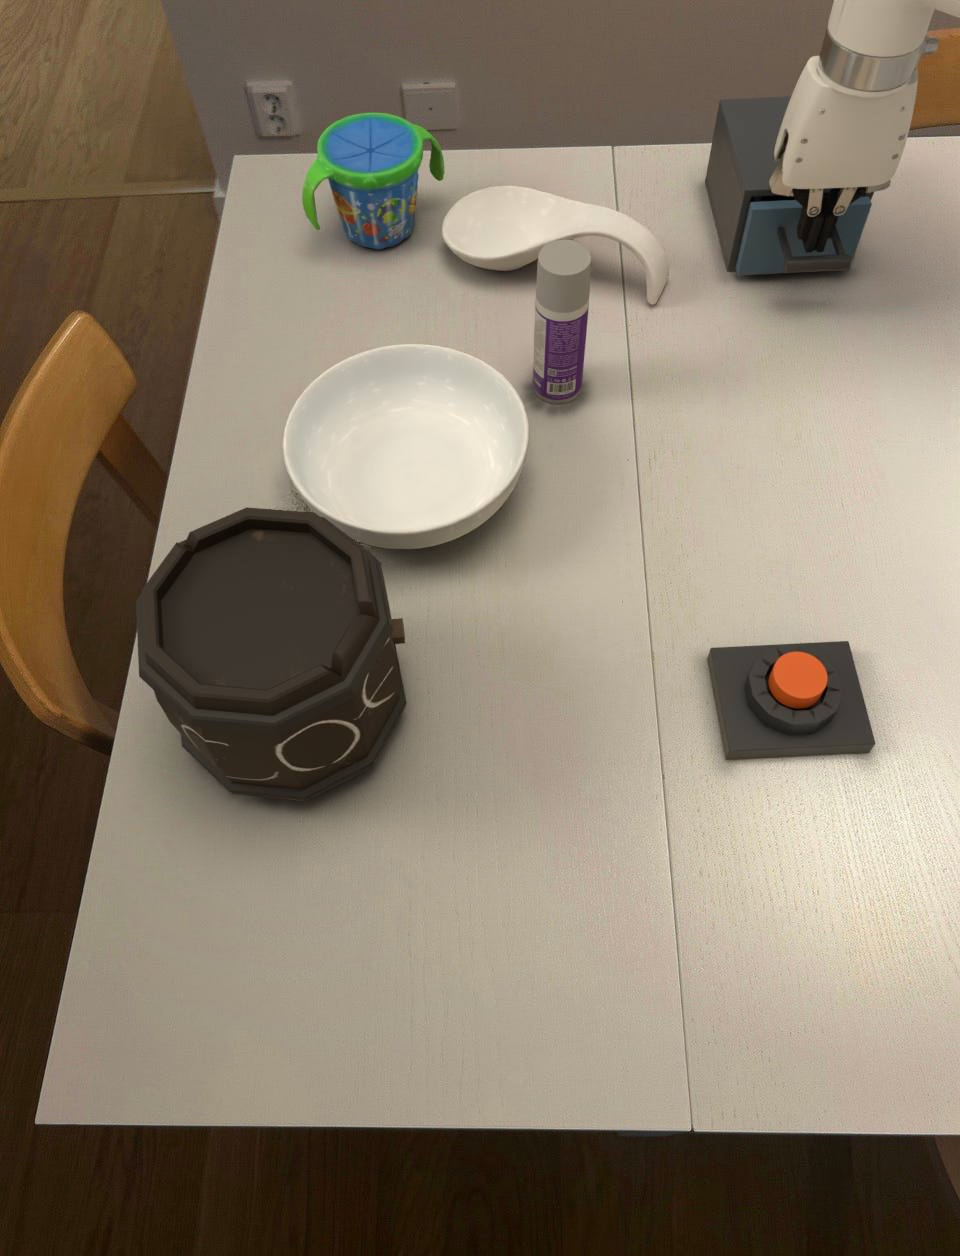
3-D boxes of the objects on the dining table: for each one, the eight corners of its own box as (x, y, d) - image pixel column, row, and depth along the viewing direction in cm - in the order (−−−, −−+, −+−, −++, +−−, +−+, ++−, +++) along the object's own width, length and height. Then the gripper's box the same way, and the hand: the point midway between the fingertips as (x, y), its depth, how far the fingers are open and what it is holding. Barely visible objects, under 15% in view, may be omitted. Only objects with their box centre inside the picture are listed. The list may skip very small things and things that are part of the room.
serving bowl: (261, 447, 98) (245, 394, 92) (463, 368, 103) (460, 313, 97) (352, 616, 88) (341, 569, 82) (570, 520, 93) (575, 469, 87)
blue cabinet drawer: (862, 309, 104) (887, 243, 98) (747, 315, 104) (763, 249, 98) (821, 185, 114) (840, 118, 108) (715, 190, 114) (728, 123, 108)
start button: (815, 661, 82) (821, 649, 80) (827, 707, 79) (833, 696, 78) (763, 663, 81) (768, 652, 80) (773, 710, 79) (778, 699, 78)
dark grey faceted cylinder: (433, 787, 80) (419, 689, 67) (195, 835, 79) (130, 744, 65) (395, 592, 89) (376, 472, 76) (181, 631, 88) (122, 515, 74)
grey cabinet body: (849, 265, 109) (877, 184, 101) (727, 271, 109) (744, 190, 101) (819, 176, 117) (842, 93, 108) (704, 181, 117) (719, 99, 108)
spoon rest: (426, 273, 110) (421, 214, 104) (469, 204, 115) (467, 144, 109) (645, 330, 105) (654, 272, 99) (679, 256, 110) (689, 196, 104)
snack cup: (425, 179, 118) (419, 92, 109) (466, 235, 113) (463, 148, 104) (294, 222, 114) (276, 136, 106) (330, 281, 109) (315, 196, 101)
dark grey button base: (843, 651, 85) (855, 628, 82) (869, 753, 81) (883, 733, 78) (706, 658, 85) (714, 635, 82) (725, 760, 81) (733, 741, 78)
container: (590, 379, 102) (602, 249, 89) (567, 410, 100) (576, 283, 87) (547, 361, 103) (553, 231, 90) (523, 392, 101) (526, 264, 88)
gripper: (948, 24, 87) (879, 214, 103) (767, 31, 87) (726, 220, 103) (974, 77, 84) (898, 266, 99) (785, 84, 83) (739, 272, 99)
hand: (811, 242), depth 101 cm, fingers closed
